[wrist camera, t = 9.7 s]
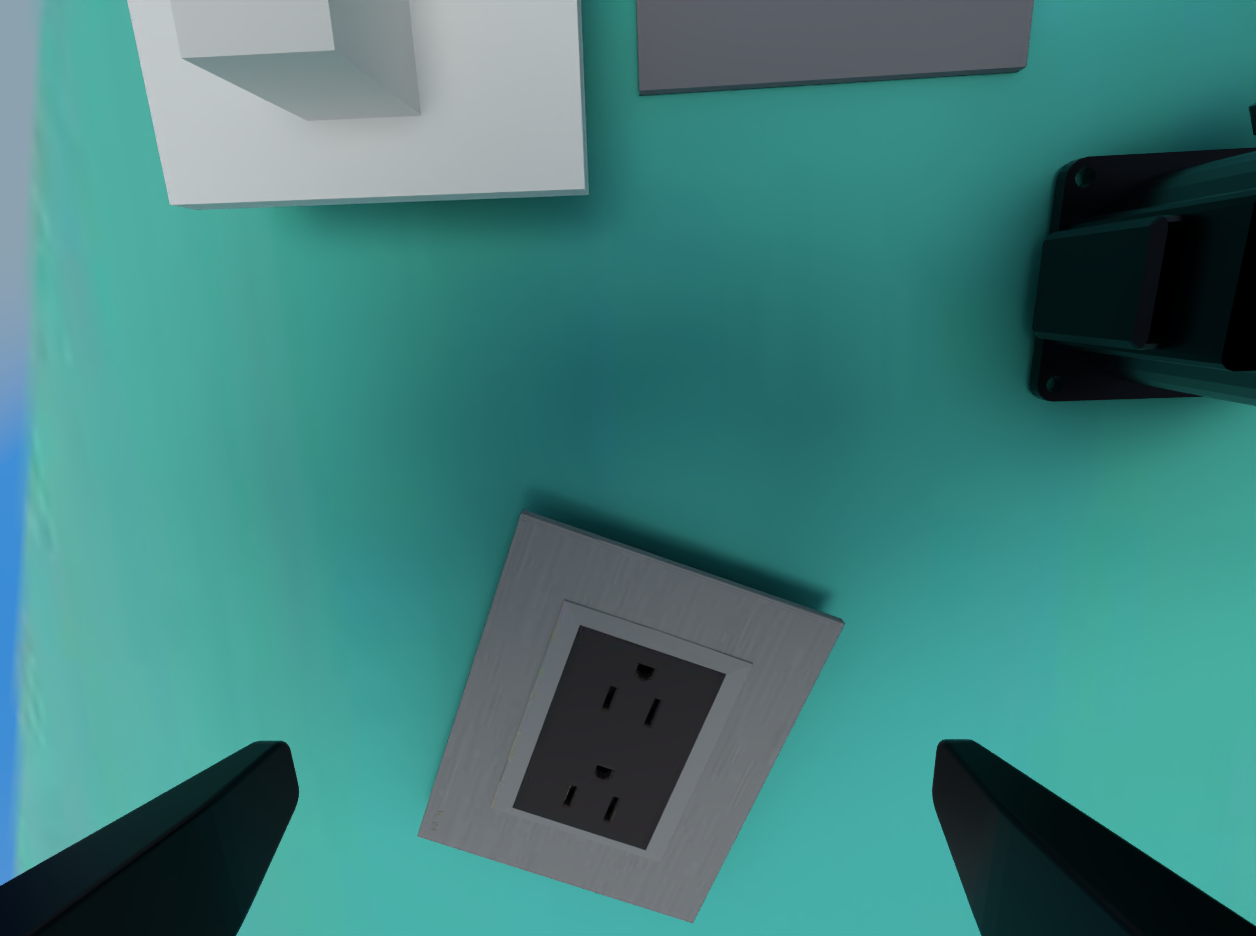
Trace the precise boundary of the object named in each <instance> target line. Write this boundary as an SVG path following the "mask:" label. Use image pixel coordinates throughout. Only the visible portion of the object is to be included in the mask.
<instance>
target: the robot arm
mask: <svg viewBox="0 0 1256 936" xmlns="http://www.w3.org/2000/svg"><path fill="white" fill-rule="evenodd" d="M1249 111H1250V117H1251V122H1252V128H1253V134H1254V135H1256V103H1254V104H1252V105H1250V106H1249ZM1079 170H1081V171H1082V172H1083V173H1084V174H1085V182H1084V184H1083V186H1082V187H1079V186H1078V185H1077V184H1076V182H1075V177H1076V174H1077V172H1078V171H1079ZM1032 330H1033V332H1034V333H1035V334H1036V339H1035V346H1034V354H1033V361H1032V369H1031V376H1030V390H1031V392H1032V394H1033V395H1034V396H1036V397H1037V398H1040V399H1043V400H1047V401H1081V400H1112V399H1143V398H1174V397H1211V398H1216V399H1221V400H1227V401H1232V402H1237V403H1243V404H1248V405H1253V406H1256V148H1240V149H1221V150H1203V151H1184V152H1166V153H1147V154H1129V155H1111V156H1092V157H1085V158H1081V159H1078V160H1075V161H1072V162H1070V163H1068V164H1067V165H1065V166H1064V167H1063V168H1062V170H1061V171H1060V172H1059V174H1058V178H1057V181H1056V188H1055V195H1054V203H1053V210H1052V218H1051V225H1050V233H1049V237H1048V238H1047V239H1046V240H1045V241H1044V243H1043V249H1042V257H1041V265H1040V272H1039V280H1038V288H1037V295H1036V303H1035V311H1034V318H1033V326H1032ZM1052 376H1055V378H1056V384H1055V386H1054V387H1053V388H1052V389H1051V390H1047V387H1046V384H1047V381H1048V380H1049V379H1050V378H1051V377H1052ZM298 797H299V786H298V781H297V777H296V772H295V768H294V763H293V759H292V754H291V750H290V747H289V746H288V744H287V743H286V742H283V741H256V742H253V743H251V744H250V745H248V746H246V747H244V748H242V749H241V750H239V751H237V752H235V753H234V754H232V755H230V756H228V757H227V758H225V759H223V760H221V761H220V762H218V763H216V764H214V765H213V766H211V767H209V768H207V769H205V770H204V771H202V772H200V773H198V774H197V775H195V776H193V777H191V778H190V779H188V780H186V781H184V782H183V783H181V784H179V785H177V786H176V787H174V788H172V789H170V790H168V791H167V792H165V793H163V794H161V795H160V796H158V797H156V798H154V799H153V800H151V801H149V802H147V803H146V804H144V805H142V806H140V807H139V808H137V809H135V810H133V811H131V812H130V813H128V814H126V815H124V816H123V817H121V818H119V819H117V820H116V821H114V822H112V823H110V824H109V825H107V826H105V827H103V828H101V829H100V830H98V831H96V832H94V833H93V834H91V835H89V836H87V837H86V838H84V839H82V840H80V841H79V842H77V843H75V844H73V845H72V846H70V847H68V848H66V849H64V850H63V851H61V852H59V853H57V854H56V855H54V856H52V857H50V858H49V859H47V860H45V861H43V862H42V863H40V864H38V865H36V866H35V867H33V868H31V869H29V870H27V871H26V872H24V873H22V874H20V875H19V876H17V877H15V878H13V879H12V880H10V881H8V882H6V883H5V884H3V885H1V886H0V936H236V935H237V933H238V931H239V929H240V927H241V925H242V923H243V921H244V919H245V917H246V915H247V913H248V911H249V909H250V907H251V905H252V903H253V901H254V899H255V896H256V894H257V892H258V890H259V888H260V885H261V883H262V881H263V879H264V876H265V874H266V872H267V870H268V868H269V865H270V863H271V861H272V859H273V857H274V854H275V852H276V850H277V848H278V846H279V843H280V841H281V839H282V837H283V835H284V832H285V830H286V828H287V826H288V824H289V821H290V819H291V817H292V815H293V813H294V810H295V808H296V805H297V802H298ZM932 797H933V803H934V807H935V810H936V813H937V816H938V819H939V822H940V824H941V827H942V830H943V833H944V835H945V838H946V841H947V844H948V846H949V849H950V852H951V855H952V857H953V860H954V863H955V866H956V869H957V871H958V874H959V877H960V880H961V882H962V885H963V888H964V891H965V893H966V896H967V899H968V902H969V904H970V907H971V910H972V913H973V915H974V918H975V920H976V923H977V926H978V928H979V931H980V933H981V936H1256V926H1255V925H1253V924H1252V923H1250V922H1249V921H1247V920H1246V919H1244V918H1243V917H1241V916H1240V915H1238V914H1237V913H1235V912H1234V911H1232V910H1231V909H1229V908H1228V907H1226V906H1225V905H1223V904H1222V903H1220V902H1218V901H1217V900H1215V899H1214V898H1212V897H1211V896H1209V895H1208V894H1206V893H1205V892H1203V891H1202V890H1200V889H1199V888H1197V887H1196V886H1194V885H1193V884H1191V883H1190V882H1188V881H1187V880H1185V879H1184V878H1182V877H1180V876H1179V875H1177V874H1176V873H1174V872H1173V871H1171V870H1170V869H1168V868H1167V867H1165V866H1164V865H1162V864H1161V863H1159V862H1158V861H1156V860H1155V859H1153V858H1152V857H1150V856H1149V855H1147V854H1146V853H1144V852H1143V851H1141V850H1139V849H1138V848H1136V847H1135V846H1133V845H1132V844H1130V843H1129V842H1127V841H1126V840H1124V839H1123V838H1121V837H1120V836H1118V835H1117V834H1115V833H1114V832H1112V831H1111V830H1109V829H1108V828H1106V827H1105V826H1103V825H1102V824H1100V823H1098V822H1097V821H1095V820H1094V819H1092V818H1091V817H1089V816H1088V815H1086V814H1085V813H1083V812H1082V811H1080V810H1079V809H1077V808H1076V807H1074V806H1073V805H1071V804H1070V803H1068V802H1067V801H1065V800H1064V799H1062V798H1061V797H1059V796H1057V795H1056V794H1054V793H1053V792H1051V791H1050V790H1048V789H1047V788H1045V787H1044V786H1042V785H1041V784H1039V783H1038V782H1036V781H1035V780H1033V779H1032V778H1030V777H1029V776H1027V775H1026V774H1024V773H1023V772H1021V771H1019V770H1018V769H1016V768H1015V767H1013V766H1012V765H1010V764H1009V763H1007V762H1006V761H1004V760H1003V759H1001V758H1000V757H998V756H997V755H995V754H994V753H992V752H991V751H989V750H988V749H986V748H985V747H983V746H982V745H980V744H978V743H977V742H975V741H973V740H969V739H945V740H942V741H940V742H939V744H938V746H937V750H936V759H935V768H934V777H933V786H932Z"/></svg>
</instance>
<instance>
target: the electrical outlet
mask: <svg viewBox="0 0 1256 936" xmlns="http://www.w3.org/2000/svg"><path fill="white" fill-rule="evenodd" d="M844 624H845V623H844V622H843V620H842V619H841V618H838V617H835V616H832V615H829V614H826V613H823V612H820V611H817V610H814V609H812V608H809V607H806V606H803V605H800V604H797V603H794V602H791V601H788V600H785V599H782V598H780V597H777V596H774V595H771V594H768V593H765V592H762V591H759V590H756V589H753V588H751V587H748V586H745V585H742V584H739V583H736V582H733V581H730V580H727V579H724V578H722V577H719V576H716V575H713V574H710V573H707V572H704V571H701V570H698V569H695V568H692V567H690V566H687V565H684V564H681V563H678V562H675V561H672V560H669V559H666V558H663V557H661V556H658V555H655V554H652V553H649V552H646V551H643V550H640V549H637V548H634V547H631V546H629V545H626V544H623V543H620V542H617V541H614V540H611V539H608V538H605V537H602V536H600V535H597V534H594V533H591V532H588V531H585V530H582V529H579V528H576V527H573V526H570V525H568V524H565V523H562V522H559V521H556V520H553V519H550V518H547V517H544V516H541V515H539V514H536V513H533V512H530V511H527V510H524V509H523V511H522V512H521V515H520V518H519V521H518V524H517V528H516V531H515V534H514V537H513V540H512V543H511V546H510V549H509V552H508V556H507V559H506V562H505V565H504V568H503V571H502V574H501V577H500V580H499V584H498V587H497V590H496V593H495V596H494V599H493V602H492V605H491V608H490V611H489V615H488V618H487V621H486V624H485V627H484V630H483V633H482V636H481V639H480V643H479V646H478V649H477V652H476V655H475V658H474V661H473V664H472V667H471V671H470V674H469V677H468V680H467V683H466V686H465V689H464V692H463V695H462V699H461V702H460V705H459V708H458V711H457V714H456V717H455V720H454V723H453V727H452V730H451V733H450V736H449V739H448V742H447V745H446V748H445V751H444V755H443V758H442V761H441V764H440V767H439V770H438V773H437V776H436V779H435V783H434V786H433V789H432V792H431V795H430V798H429V801H428V804H427V807H426V811H425V814H424V817H423V820H422V823H421V826H420V829H419V832H418V835H417V836H418V837H421V838H425V839H428V840H431V841H434V842H437V843H440V844H444V845H447V846H450V847H453V848H456V849H459V850H463V851H466V852H469V853H472V854H475V855H478V856H482V857H485V858H488V859H491V860H494V861H497V862H501V863H504V864H507V865H510V866H513V867H516V868H520V869H523V870H526V871H529V872H532V873H535V874H539V875H542V876H545V877H548V878H551V879H554V880H558V881H561V882H564V883H567V884H570V885H573V886H576V887H580V888H583V889H586V890H589V891H592V892H595V893H599V894H602V895H605V896H608V897H611V898H614V899H618V900H621V901H624V902H627V903H630V904H633V905H637V906H640V907H643V908H646V909H649V910H652V911H656V912H659V913H662V914H665V915H668V916H671V917H675V918H678V919H681V920H684V921H687V922H690V923H693V922H694V920H695V918H696V916H697V914H698V912H699V910H700V908H701V906H702V904H703V902H704V900H705V898H706V896H707V894H708V892H709V890H710V888H711V886H712V884H713V882H714V880H715V879H716V877H717V875H718V873H719V871H720V869H721V867H722V865H723V863H724V861H725V859H726V857H727V855H728V853H729V851H730V849H731V847H732V845H733V843H734V841H735V839H736V837H737V835H738V833H739V831H740V829H741V827H742V825H743V823H744V821H745V819H746V817H747V815H748V814H749V812H750V810H751V808H752V806H753V804H754V802H755V800H756V798H757V796H758V794H759V792H760V790H761V788H762V786H763V784H764V782H765V780H766V778H767V776H768V774H769V772H770V770H771V768H772V766H773V764H774V762H775V760H776V758H777V756H778V754H779V752H780V751H781V749H782V747H783V745H784V743H785V741H786V739H787V737H788V735H789V733H790V731H791V729H792V727H793V725H794V723H795V721H796V719H797V717H798V715H799V713H800V711H801V709H802V707H803V705H804V703H805V701H806V699H807V697H808V695H809V693H810V691H811V689H812V687H813V686H814V684H815V682H816V680H817V678H818V676H819V674H820V672H821V670H822V668H823V666H824V664H825V662H826V660H827V658H828V656H829V654H830V652H831V650H832V648H833V646H834V644H835V642H836V640H837V638H838V636H839V634H840V632H841V630H842V628H843V626H844Z"/></svg>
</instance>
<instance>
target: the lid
mask: <svg viewBox="0 0 1256 936" xmlns="http://www.w3.org/2000/svg"><path fill="white" fill-rule="evenodd" d="M127 1H128V6H129V10H130V15H131V20H132V25H133V30H134V34H135V39H136V44H137V49H138V54H139V58H140V63H141V68H142V73H143V78H144V82H145V87H146V92H147V97H148V101H149V106H150V111H151V116H152V121H153V125H154V130H155V135H156V140H157V145H158V149H159V154H160V159H161V164H162V169H163V173H164V178H165V183H166V188H167V193H168V197H169V202H170V205H173V206H178V207H184V208H189V209H194V210H208V209H234V208H260V207H286V206H312V205H339V204H365V203H391V202H417V201H443V200H470V199H496V198H522V197H548V196H574V195H589V181H588V157H587V133H586V109H585V84H584V60H583V36H582V12H581V0H127Z"/></svg>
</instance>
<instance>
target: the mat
mask: <svg viewBox="0 0 1256 936" xmlns="http://www.w3.org/2000/svg"><path fill="white" fill-rule="evenodd" d="M636 1H637V32H638V62H639V91H640V95H653V94H670V93H686V92H702V91H718V90H734V89H750V88H766V87H782V86H798V85H815V84H831V83H847V82H863V81H879V80H895V79H911V78H927V77H943V76H959V75H976V74H992V73H1008V72H1018V71H1020V70H1022V69H1023V68H1025V67H1026V64H1027V56H1028V47H1029V38H1030V30H1031V21H1032V12H1033V4H1034V0H636Z"/></svg>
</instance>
